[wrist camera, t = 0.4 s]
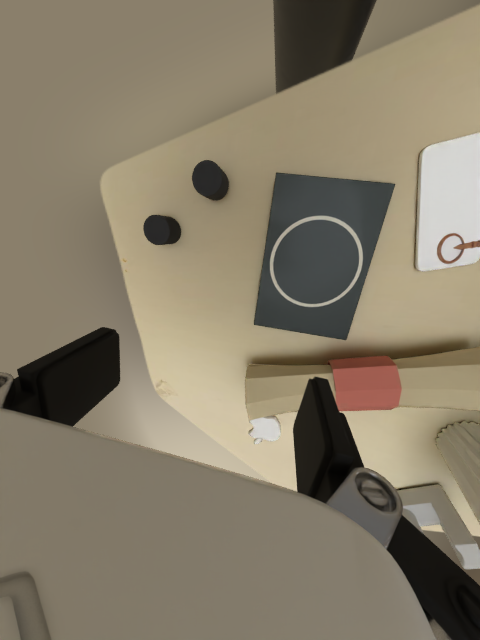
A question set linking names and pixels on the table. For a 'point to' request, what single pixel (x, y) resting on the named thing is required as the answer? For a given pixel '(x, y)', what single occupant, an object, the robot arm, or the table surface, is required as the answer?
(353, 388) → the scroll
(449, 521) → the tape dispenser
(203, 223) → the table surface
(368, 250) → the face board
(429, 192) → the smartphone
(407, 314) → the table surface
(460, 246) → the key
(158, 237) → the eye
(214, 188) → the black cylinder roller
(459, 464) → the vase
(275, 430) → the logo
